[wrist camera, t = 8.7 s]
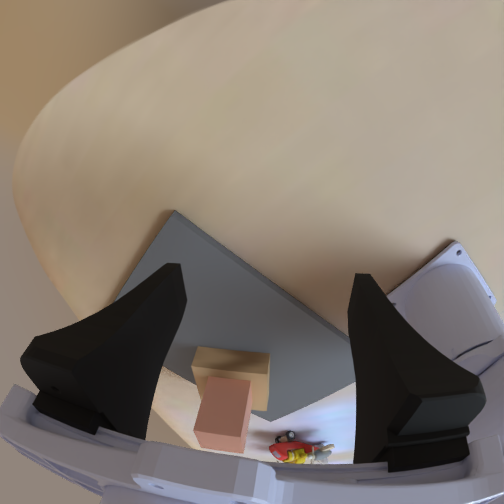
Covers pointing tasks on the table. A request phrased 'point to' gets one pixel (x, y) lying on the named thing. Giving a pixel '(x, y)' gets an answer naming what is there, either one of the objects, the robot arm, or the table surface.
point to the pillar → (224, 414)
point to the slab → (234, 371)
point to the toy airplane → (299, 450)
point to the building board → (246, 320)
